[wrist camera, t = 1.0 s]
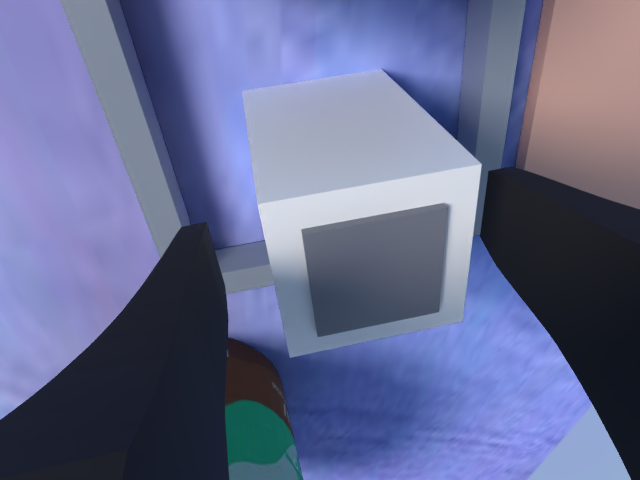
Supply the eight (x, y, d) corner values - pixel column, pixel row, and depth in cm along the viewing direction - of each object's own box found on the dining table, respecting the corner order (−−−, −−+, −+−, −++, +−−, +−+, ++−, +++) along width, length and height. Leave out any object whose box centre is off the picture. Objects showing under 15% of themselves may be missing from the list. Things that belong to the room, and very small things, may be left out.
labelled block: (381, 68, 15) (486, 168, 9) (383, 190, 17) (466, 327, 12) (241, 90, 14) (258, 209, 9) (266, 211, 17) (290, 364, 11)
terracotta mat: (794, -87, 14) (814, -87, 14) (677, 192, 20) (688, 199, 20) (552, -53, 14) (564, -52, 13) (505, 225, 19) (512, 233, 19)
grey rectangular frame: (557, -495, 9) (610, -558, 8) (472, 222, 19) (489, 243, 18) (-92, -464, 8) (-147, -532, 7) (181, 277, 18) (178, 303, 17)
